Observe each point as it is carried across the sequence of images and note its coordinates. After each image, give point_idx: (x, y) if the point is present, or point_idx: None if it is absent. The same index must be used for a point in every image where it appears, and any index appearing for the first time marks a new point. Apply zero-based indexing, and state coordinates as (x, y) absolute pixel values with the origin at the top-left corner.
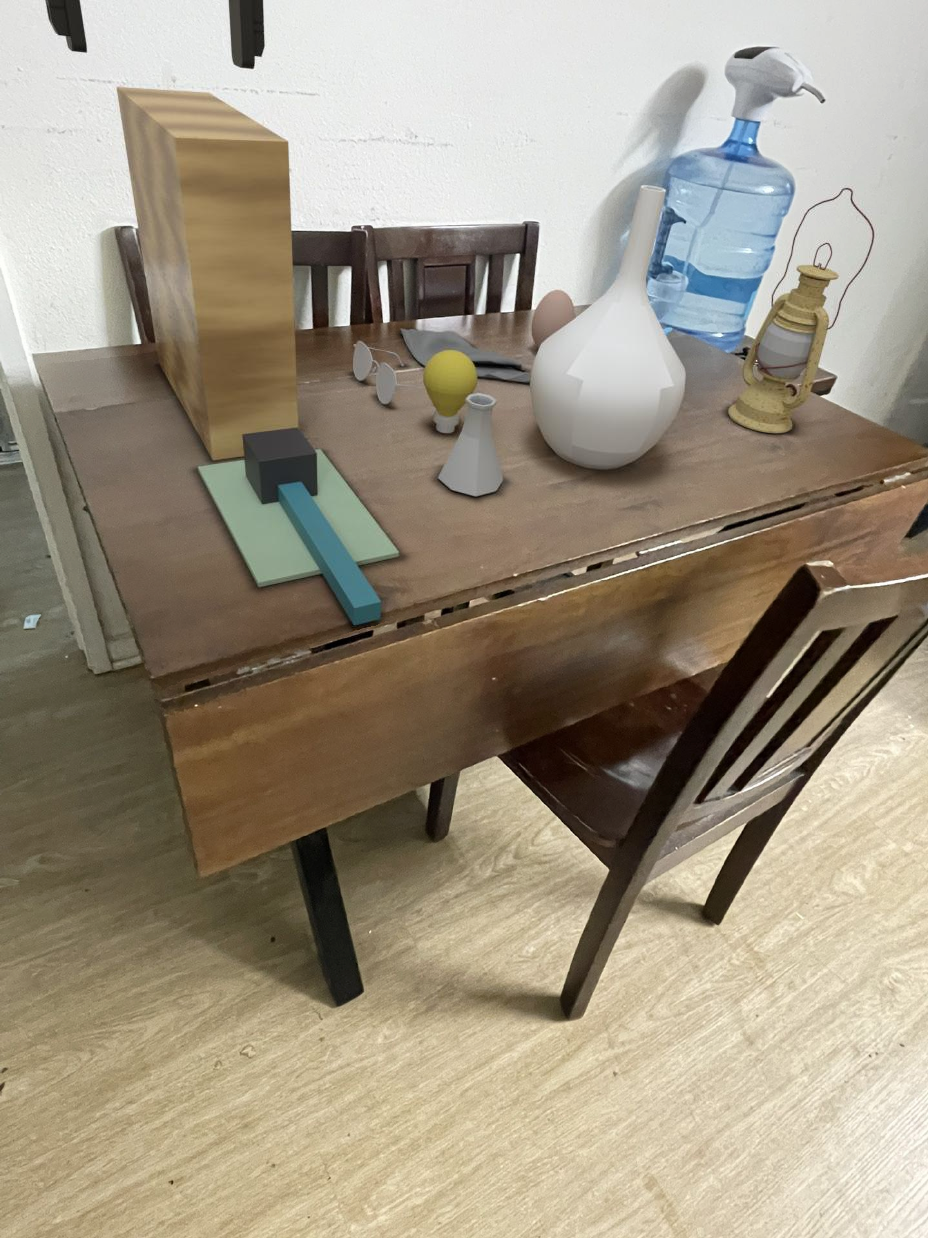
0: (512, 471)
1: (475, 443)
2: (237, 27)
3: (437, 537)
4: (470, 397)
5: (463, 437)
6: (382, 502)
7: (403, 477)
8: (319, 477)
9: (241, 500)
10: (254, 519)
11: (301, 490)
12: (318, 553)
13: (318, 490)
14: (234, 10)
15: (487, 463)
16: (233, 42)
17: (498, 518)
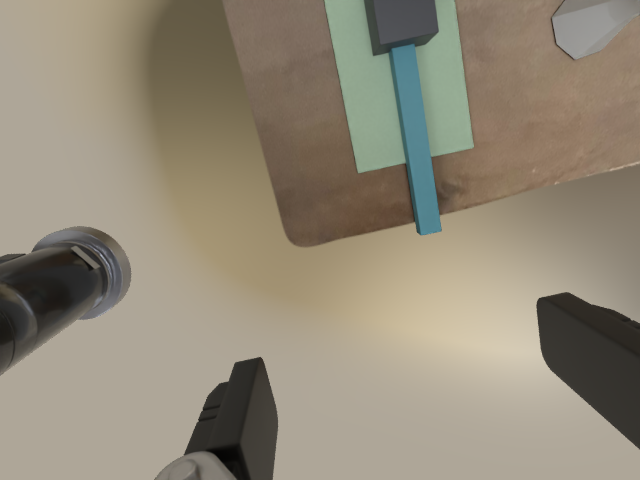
0: None
1: (611, 25)
2: (579, 376)
3: (513, 122)
4: None
5: (604, 10)
6: (482, 56)
7: (517, 8)
8: None
9: (355, 46)
10: (364, 81)
11: (411, 61)
12: (408, 161)
13: None
14: (599, 372)
15: (610, 36)
16: (558, 326)
17: (580, 98)
